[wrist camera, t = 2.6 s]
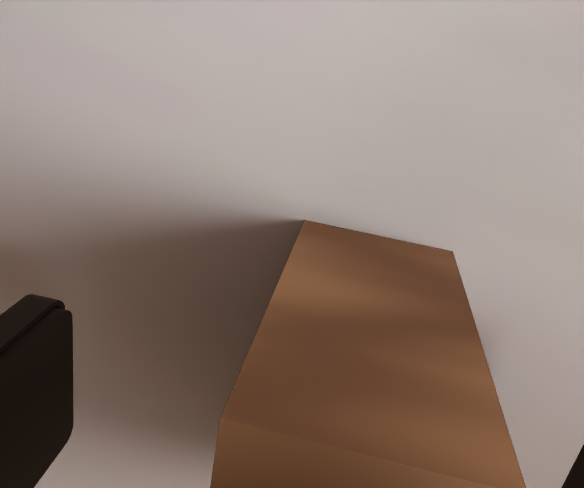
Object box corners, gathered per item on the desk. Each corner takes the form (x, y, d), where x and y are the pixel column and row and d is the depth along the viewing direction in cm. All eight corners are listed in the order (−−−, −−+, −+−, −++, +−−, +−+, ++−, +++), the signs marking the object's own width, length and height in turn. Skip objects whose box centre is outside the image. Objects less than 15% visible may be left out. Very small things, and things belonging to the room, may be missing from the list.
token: (452, 251, 10) (528, 495, 5) (383, 472, 13) (381, 806, 7) (305, 219, 11) (219, 418, 5) (263, 442, 13) (174, 742, 8)
